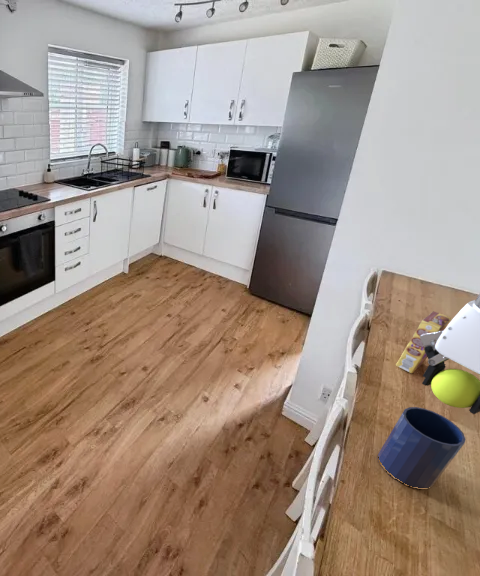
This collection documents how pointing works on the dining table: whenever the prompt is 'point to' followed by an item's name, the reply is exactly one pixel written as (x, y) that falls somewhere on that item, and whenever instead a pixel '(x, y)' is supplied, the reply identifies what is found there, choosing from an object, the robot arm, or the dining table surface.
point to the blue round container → (420, 447)
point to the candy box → (415, 348)
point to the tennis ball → (456, 388)
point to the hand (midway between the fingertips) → (451, 395)
